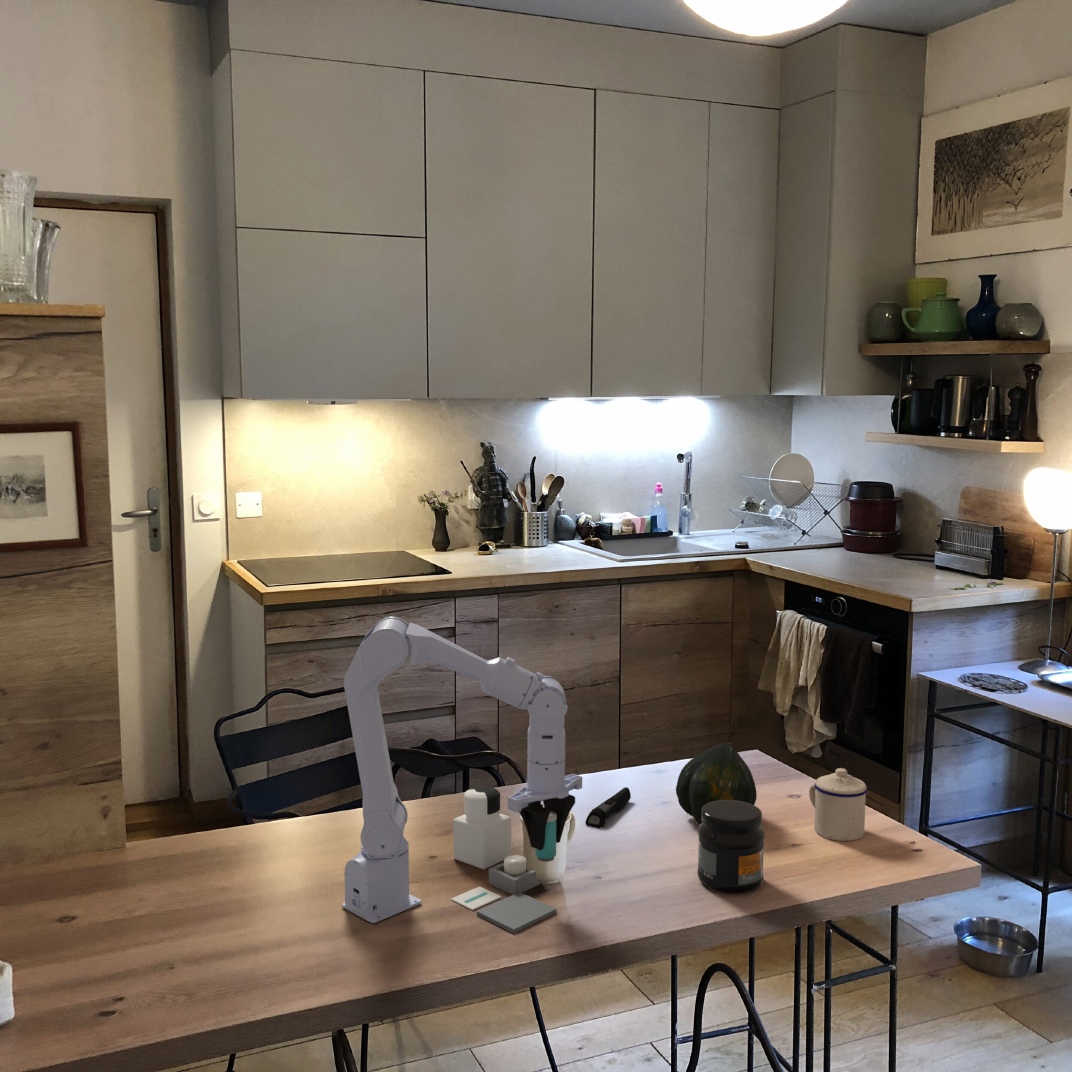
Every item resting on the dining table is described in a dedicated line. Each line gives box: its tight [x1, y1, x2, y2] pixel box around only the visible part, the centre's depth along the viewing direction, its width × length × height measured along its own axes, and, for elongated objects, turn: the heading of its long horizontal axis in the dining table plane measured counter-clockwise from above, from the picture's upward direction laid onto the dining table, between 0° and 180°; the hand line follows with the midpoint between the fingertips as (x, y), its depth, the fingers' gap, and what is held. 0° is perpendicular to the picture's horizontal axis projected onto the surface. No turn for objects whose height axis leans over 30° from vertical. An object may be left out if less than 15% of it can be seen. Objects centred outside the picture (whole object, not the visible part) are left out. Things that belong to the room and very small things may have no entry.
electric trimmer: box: [585, 787, 632, 829], centre depth 203 cm, size 4×16×3 cm, turn 152°
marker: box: [534, 811, 557, 863], centre depth 165 cm, size 3×3×7 cm
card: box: [450, 886, 502, 911], centre depth 168 cm, size 6×5×1 cm
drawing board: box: [476, 892, 557, 934], centre depth 163 cm, size 9×8×1 cm
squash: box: [675, 742, 758, 826], centre depth 199 cm, size 14×15×15 cm
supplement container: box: [697, 800, 766, 895], centre depth 173 cm, size 10×10×12 cm
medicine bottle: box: [452, 785, 512, 870], centre depth 182 cm, size 7×7×12 cm
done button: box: [503, 854, 527, 877], centre depth 173 cm, size 4×4×3 cm
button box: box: [488, 862, 541, 896], centre depth 173 cm, size 6×6×2 cm
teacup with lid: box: [808, 767, 868, 842], centre depth 194 cm, size 12×9×12 cm
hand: (545, 844), depth 166 cm, fingers closed on marker, 3 cm apart
